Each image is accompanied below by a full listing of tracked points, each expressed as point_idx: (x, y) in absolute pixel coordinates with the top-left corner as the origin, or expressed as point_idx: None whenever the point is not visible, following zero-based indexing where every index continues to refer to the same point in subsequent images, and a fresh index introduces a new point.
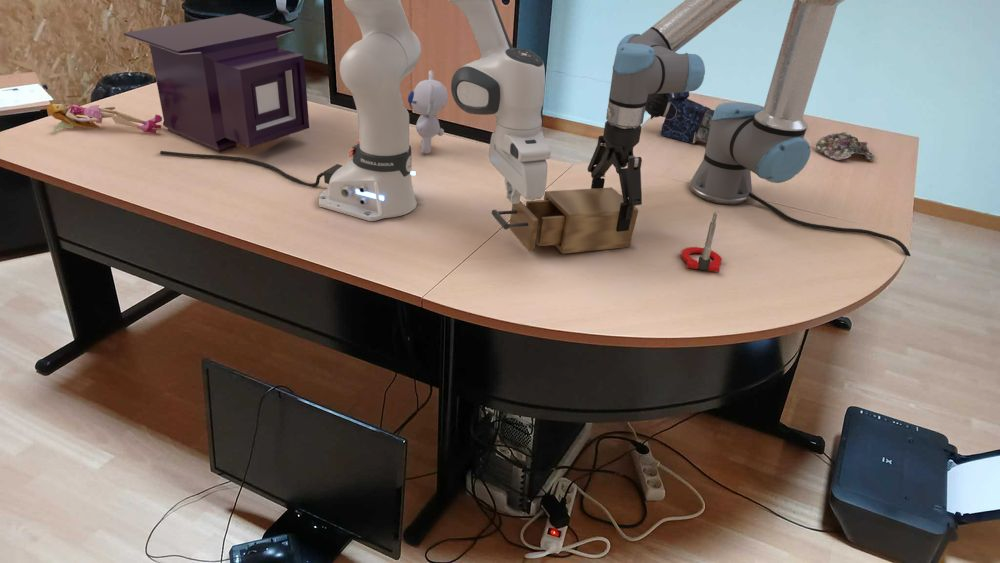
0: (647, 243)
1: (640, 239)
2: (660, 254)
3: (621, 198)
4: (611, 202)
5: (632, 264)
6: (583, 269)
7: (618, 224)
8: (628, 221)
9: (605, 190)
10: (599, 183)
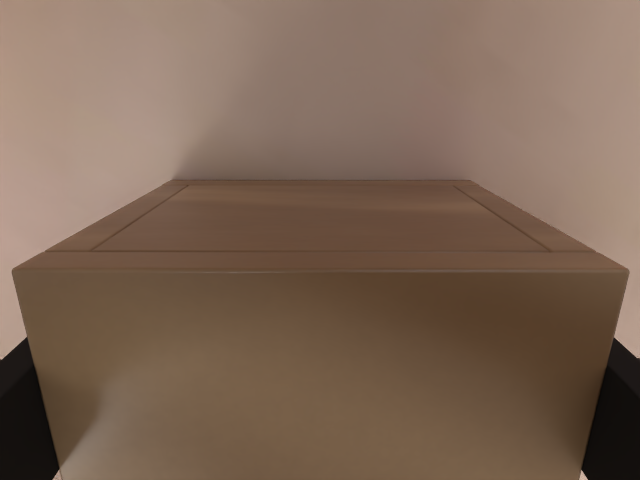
0: (478, 44)
1: (417, 61)
2: (626, 41)
3: (327, 313)
4: (396, 454)
5: (621, 259)
6: None
7: None
8: None
9: (106, 378)
10: (8, 458)
